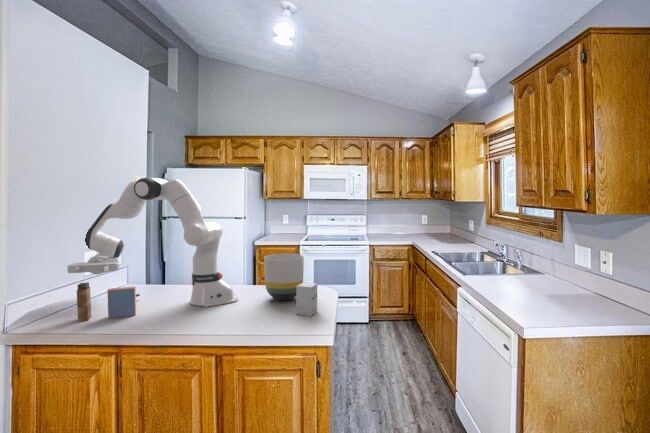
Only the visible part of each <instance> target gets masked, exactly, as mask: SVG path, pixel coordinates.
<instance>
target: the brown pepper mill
mask: <svg viewBox="0 0 650 433" xmlns="http://www.w3.org/2000/svg"><path fill="white" fill-rule="evenodd" d="M91 301H92V300H91V287H90V282H80V283H79V284H77V290H76V310H77V311H76V312H77V323H81V322H88V321H89V320H90V319H91V318H92V309H91V308H92V304H91Z"/></svg>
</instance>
